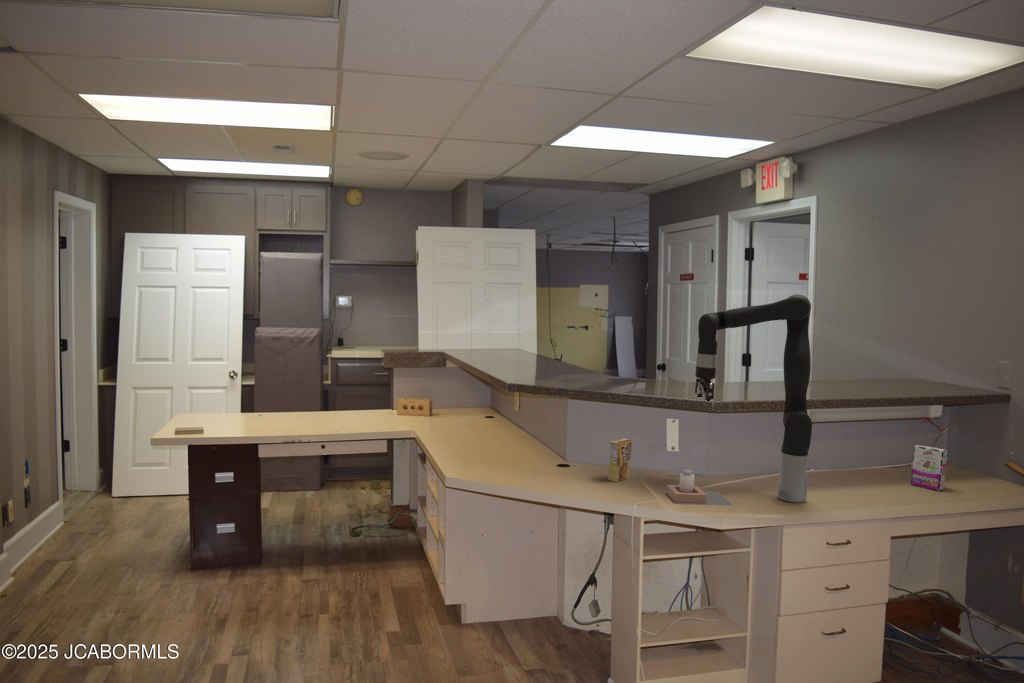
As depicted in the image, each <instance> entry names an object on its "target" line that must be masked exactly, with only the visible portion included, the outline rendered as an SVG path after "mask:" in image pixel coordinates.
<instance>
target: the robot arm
mask: <svg viewBox="0 0 1024 683" xmlns="http://www.w3.org/2000/svg"><path fill="white" fill-rule="evenodd" d="M811 310H812V304H811V301H810V300H809V298H808V297H807V296H805V295H803V294H793V295H790V296H789V297H787V298H784V299H780V300H779V301H776V302H771V303H766V304H759V305H749V306H743V307H737V308H732V309H728V310H724V311H716V312H707V313H704V314H702V315H701V316H700V318H699V320H698V327H697V331H698V344H697V345H698V346H697V356H696V362H695V373H694V376H695V378H696V379H695V386H694V387H695V388H694V394H695V395H696V398H697V397H703V400H707V401H710V400H711V401H713V400H714V397H715V396H714V394H715V393H714V392H715V383H713V382H712V381H711V380H715V379H716V377H717V364H718V359H717V354H718V340H717V331H720V330H726V329H734V328H741V327H746V326H752V325H756V324H761V323H766V322H771V321H786V339H785V344H784V349H783V350H784V352H783V382H784V383H783V384H784V393H785V394H784V395H785V397H784V408H783V414H782V415H783V417H782V423H783V424H782V425H783V426H784V431H783V433H784V434H783V441H782V444H781V448H780V449H781V451H780V452H781V453H780V462H779V463H780V464H779V474H778V485H777V495H776V496H777V499H779V500H782V501H785V502H789V503H803V502H807V498H808V497H807V496H808V495H807V494H808V486H809V485H808V484H809V475H808V474H807V469H808V460H809V451H810V446H811V439H812V434H813V433H812V431H813V421H812V418H811V417H810V415H809V414H808V407H807V394H808V388H809V384H810V379H811V372H812V371H811V370H812V369H811V368H812V367H811V365H812V364H811V363H812V362H811V359H812V358H811V345H810V337H809V327H810V317H811Z"/></svg>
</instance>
